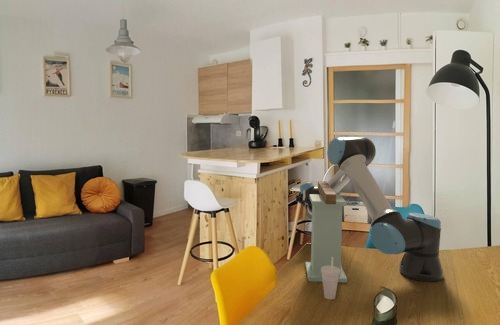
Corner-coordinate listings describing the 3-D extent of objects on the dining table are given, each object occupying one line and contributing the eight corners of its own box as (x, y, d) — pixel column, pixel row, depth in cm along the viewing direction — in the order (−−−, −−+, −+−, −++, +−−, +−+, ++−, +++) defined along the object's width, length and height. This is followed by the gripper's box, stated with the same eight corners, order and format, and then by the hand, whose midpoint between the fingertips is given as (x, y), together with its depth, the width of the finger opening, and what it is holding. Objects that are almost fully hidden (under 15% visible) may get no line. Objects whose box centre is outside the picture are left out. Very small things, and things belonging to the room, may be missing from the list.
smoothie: (339, 302, 112) (341, 261, 110) (319, 300, 113) (320, 259, 111) (338, 292, 118) (340, 253, 116) (319, 291, 119) (320, 252, 117)
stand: (305, 265, 140) (306, 193, 137) (340, 266, 139) (342, 194, 136) (308, 281, 127) (309, 201, 123) (346, 282, 125) (349, 202, 122)
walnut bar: (317, 189, 145) (317, 181, 145) (326, 189, 145) (326, 181, 145) (325, 204, 120) (325, 194, 119) (335, 204, 119) (336, 194, 119)
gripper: (342, 214, 165) (350, 202, 146) (290, 213, 168) (291, 201, 148) (341, 199, 168) (349, 185, 149) (290, 199, 171) (291, 184, 151)
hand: (320, 193), depth 149 cm, fingers open, 13 cm apart
